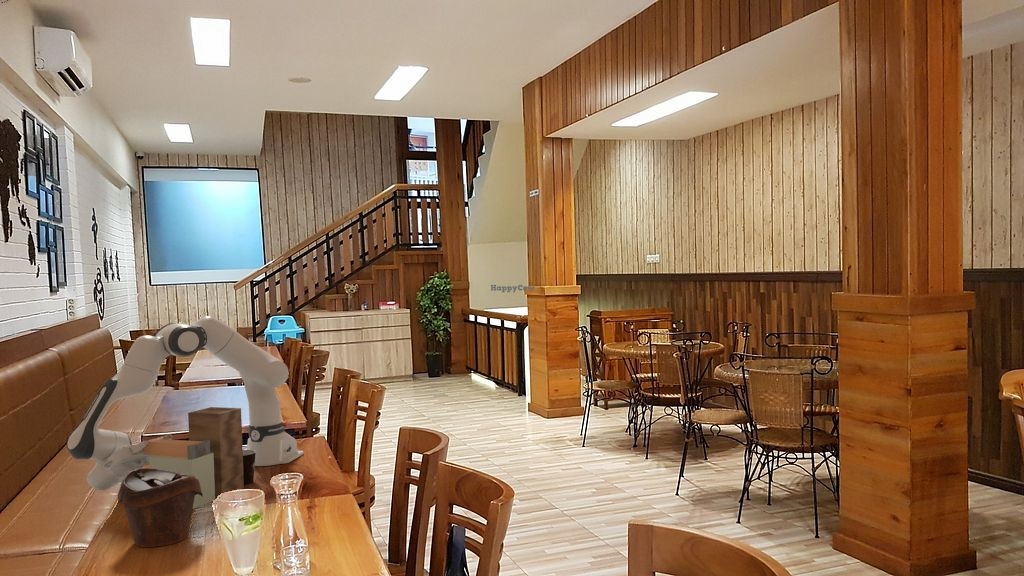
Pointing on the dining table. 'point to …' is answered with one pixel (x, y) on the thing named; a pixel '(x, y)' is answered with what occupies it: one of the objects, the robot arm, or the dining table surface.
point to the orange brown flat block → (177, 448)
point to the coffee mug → (248, 466)
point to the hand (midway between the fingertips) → (158, 439)
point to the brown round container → (158, 505)
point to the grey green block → (191, 473)
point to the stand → (221, 444)
